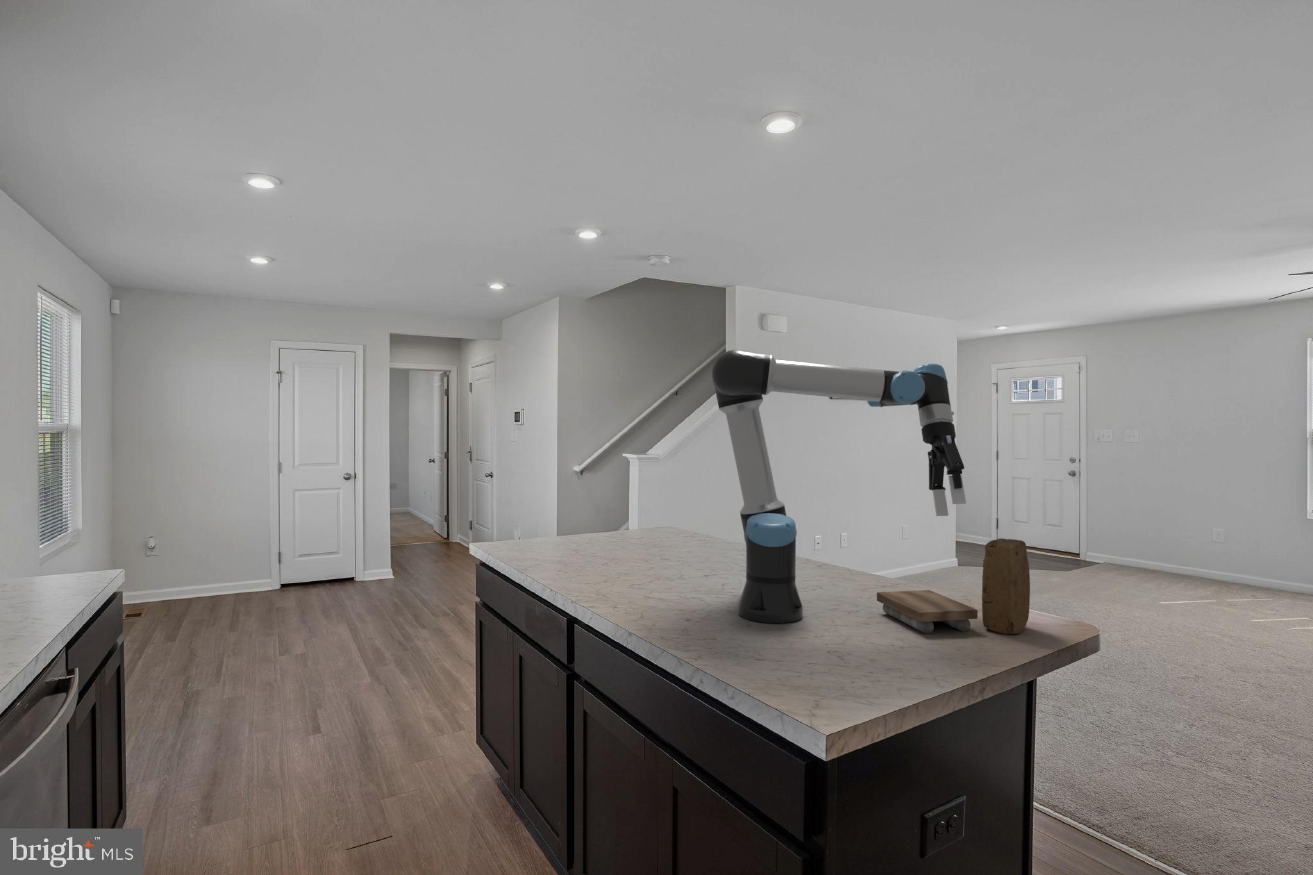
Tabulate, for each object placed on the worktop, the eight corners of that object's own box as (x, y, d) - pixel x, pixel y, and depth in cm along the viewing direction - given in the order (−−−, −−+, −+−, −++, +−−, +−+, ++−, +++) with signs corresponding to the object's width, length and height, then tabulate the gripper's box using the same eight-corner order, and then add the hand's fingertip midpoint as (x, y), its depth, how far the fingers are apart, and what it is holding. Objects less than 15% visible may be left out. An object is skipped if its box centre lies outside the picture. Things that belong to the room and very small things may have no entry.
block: (1013, 638, 143) (1014, 544, 143) (977, 629, 149) (979, 540, 149) (1034, 628, 150) (1035, 539, 150) (999, 621, 156) (1000, 535, 156)
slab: (919, 635, 145) (919, 612, 144) (876, 612, 162) (876, 592, 162) (977, 632, 147) (977, 609, 147) (928, 610, 165) (929, 590, 165)
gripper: (969, 406, 153) (985, 497, 146) (939, 440, 176) (951, 519, 170) (935, 408, 154) (949, 498, 147) (909, 441, 177) (920, 520, 171)
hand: (950, 510), depth 158 cm, fingers open, 13 cm apart
